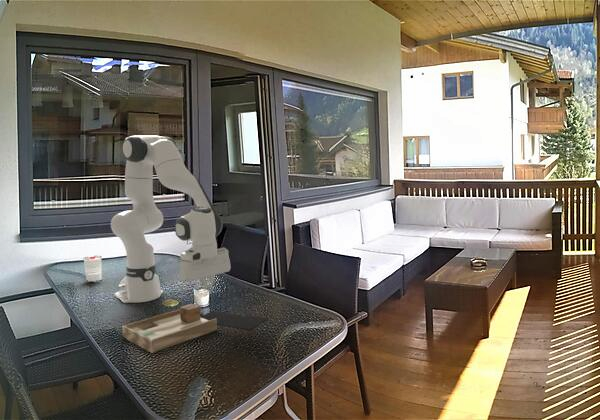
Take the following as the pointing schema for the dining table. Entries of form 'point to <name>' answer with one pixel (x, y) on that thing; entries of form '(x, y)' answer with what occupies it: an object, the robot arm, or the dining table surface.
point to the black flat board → (234, 320)
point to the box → (166, 331)
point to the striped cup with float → (93, 268)
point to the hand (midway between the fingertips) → (207, 288)
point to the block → (190, 313)
